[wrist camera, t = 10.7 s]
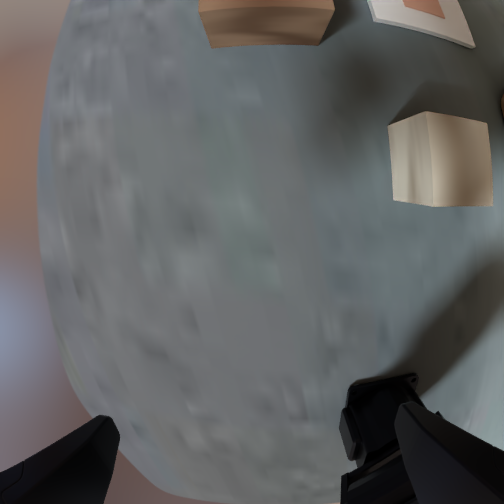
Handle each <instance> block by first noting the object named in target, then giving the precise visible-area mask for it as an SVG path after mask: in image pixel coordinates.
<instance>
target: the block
mask: <svg viewBox="0 0 504 504" xmlns="http://www.w3.org/2000/svg"><path fill="white" fill-rule="evenodd" d="M501 108H502V111H503V117H504V94H503V97H502V99H501Z"/></svg>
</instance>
